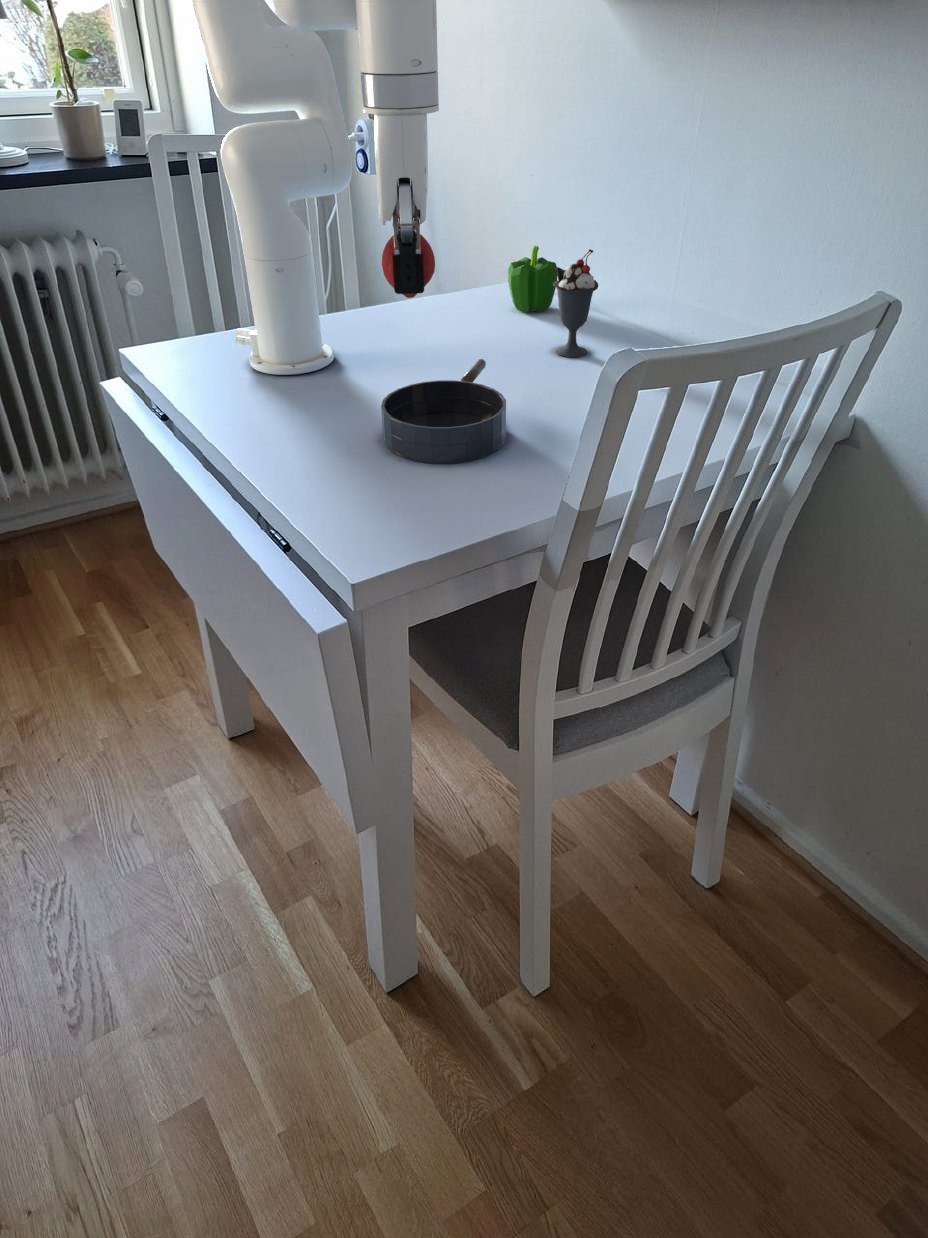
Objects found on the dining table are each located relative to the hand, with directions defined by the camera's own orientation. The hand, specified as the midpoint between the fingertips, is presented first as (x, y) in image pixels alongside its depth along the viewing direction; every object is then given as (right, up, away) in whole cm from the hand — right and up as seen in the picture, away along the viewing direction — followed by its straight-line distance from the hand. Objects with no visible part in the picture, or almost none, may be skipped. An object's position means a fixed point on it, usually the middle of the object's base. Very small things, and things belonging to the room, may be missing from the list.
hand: (408, 282), depth 96 cm
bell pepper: (+18, +17, +56) cm, 61 cm away
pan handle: (+7, -5, +20) cm, 22 cm away
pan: (+4, -14, +13) cm, 20 cm away
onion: (0, -2, +1) cm, 2 cm away
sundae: (+23, +4, +38) cm, 44 cm away
